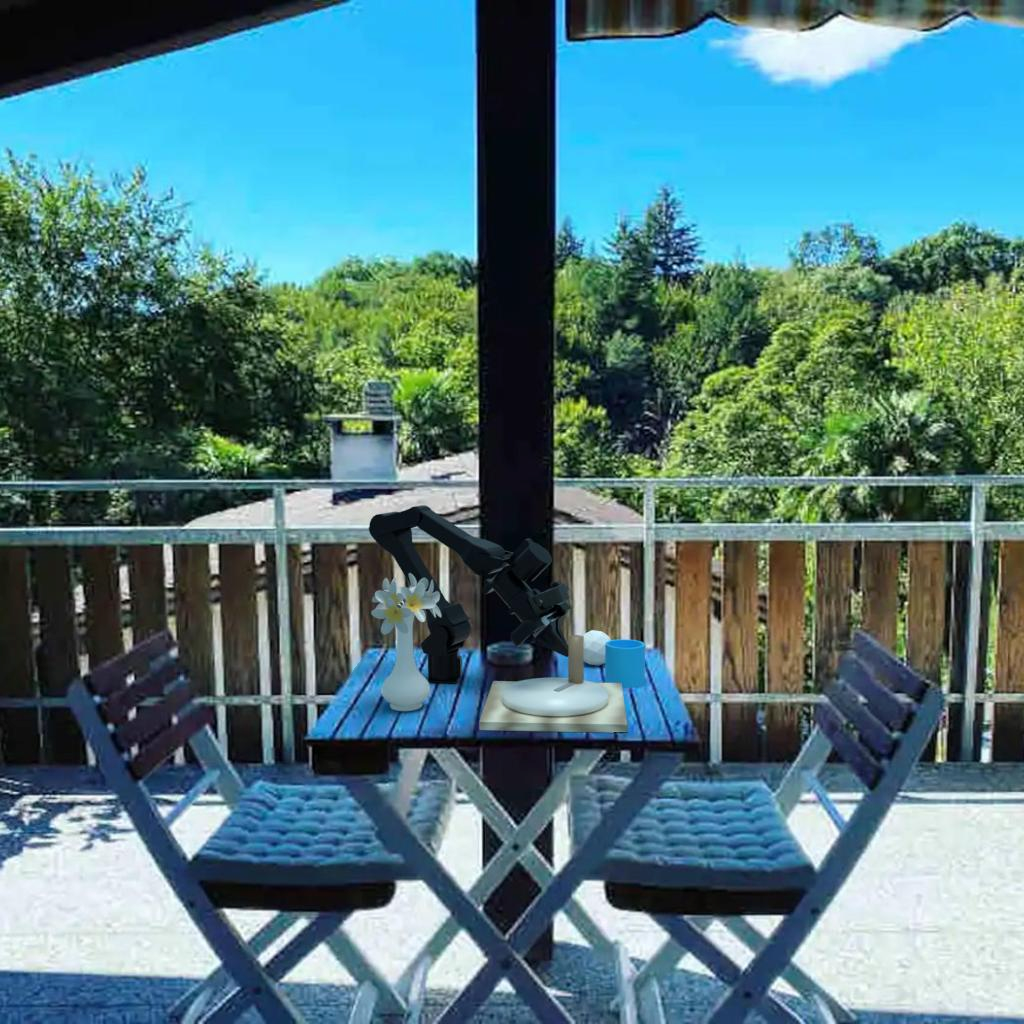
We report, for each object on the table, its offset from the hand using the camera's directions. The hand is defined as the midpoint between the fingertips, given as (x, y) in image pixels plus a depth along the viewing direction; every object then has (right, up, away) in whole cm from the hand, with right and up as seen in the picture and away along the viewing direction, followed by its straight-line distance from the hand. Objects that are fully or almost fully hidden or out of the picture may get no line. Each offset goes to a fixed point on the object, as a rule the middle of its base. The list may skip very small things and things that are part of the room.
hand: (569, 655), depth 191 cm
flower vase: (-31, -9, -6) cm, 33 cm away
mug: (+12, -7, +13) cm, 19 cm away
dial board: (-3, -9, -7) cm, 12 cm away
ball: (+7, -6, +25) cm, 27 cm away
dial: (-3, -7, -7) cm, 11 cm away
